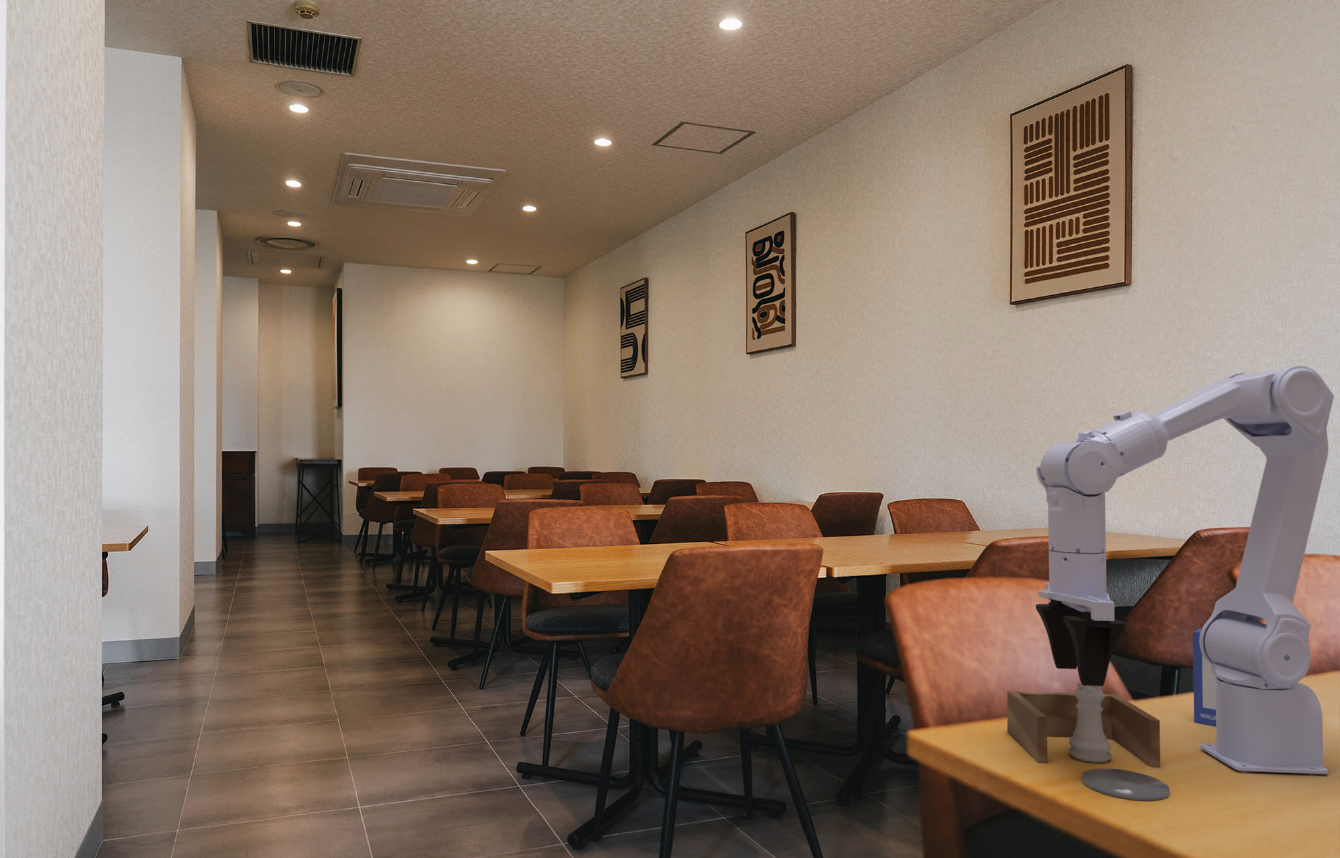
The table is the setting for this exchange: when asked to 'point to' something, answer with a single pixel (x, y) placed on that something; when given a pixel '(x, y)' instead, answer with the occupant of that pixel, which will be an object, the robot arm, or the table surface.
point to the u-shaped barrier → (1058, 717)
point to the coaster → (1125, 784)
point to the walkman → (1203, 686)
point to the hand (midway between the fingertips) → (1078, 676)
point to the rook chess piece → (1089, 727)
